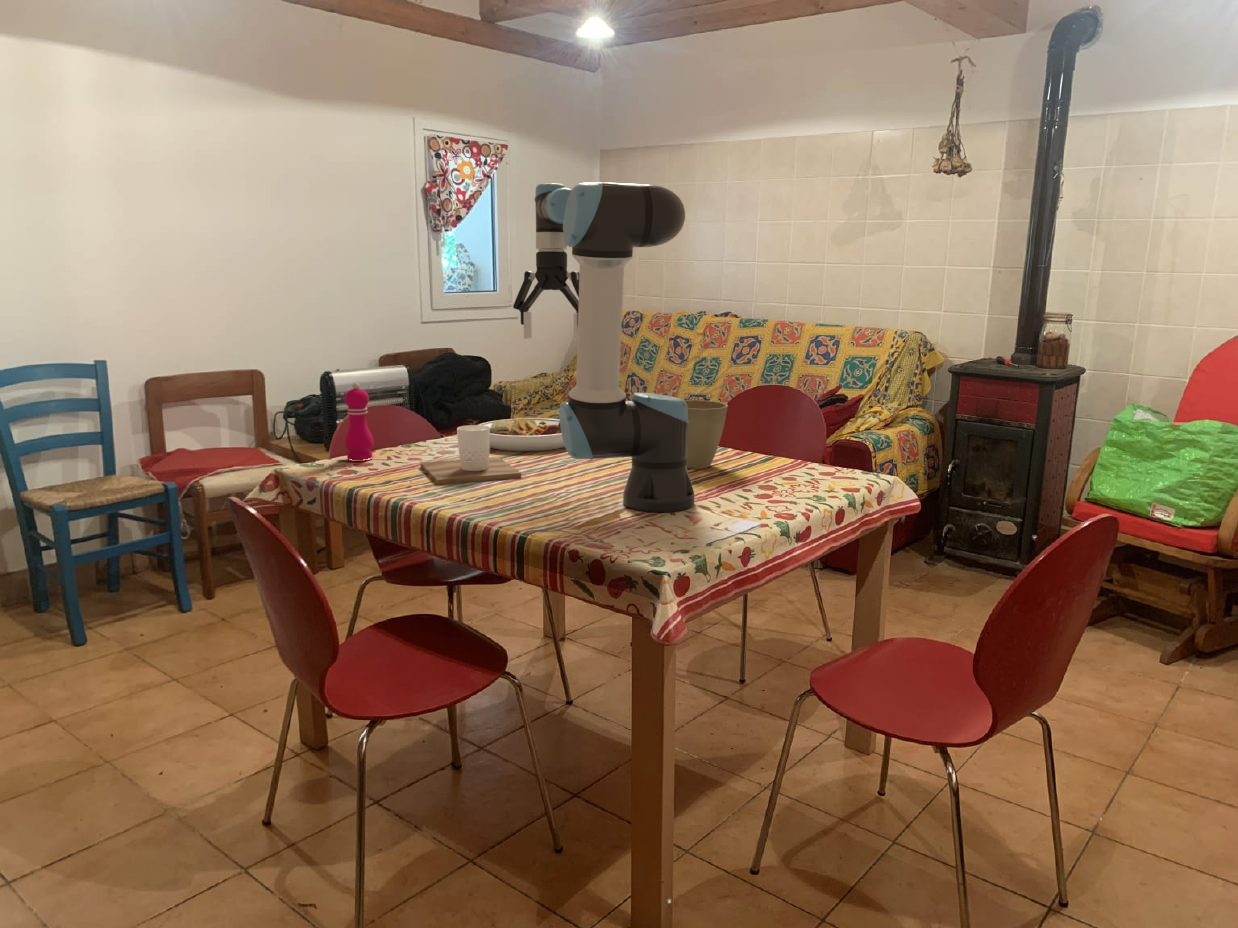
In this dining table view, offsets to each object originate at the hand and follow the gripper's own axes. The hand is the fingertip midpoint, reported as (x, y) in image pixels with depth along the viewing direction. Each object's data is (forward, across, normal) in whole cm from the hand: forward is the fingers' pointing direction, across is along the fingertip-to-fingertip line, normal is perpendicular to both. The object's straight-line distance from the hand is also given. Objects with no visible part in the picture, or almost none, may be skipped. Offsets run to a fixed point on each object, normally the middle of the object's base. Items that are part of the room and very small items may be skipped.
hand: (552, 339), depth 220 cm
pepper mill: (+32, +49, +14) cm, 60 cm away
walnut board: (+32, +15, +16) cm, 39 cm away
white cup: (+31, +13, +16) cm, 37 cm away
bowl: (+32, +20, -24) cm, 45 cm away
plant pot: (+32, -34, -13) cm, 48 cm away
